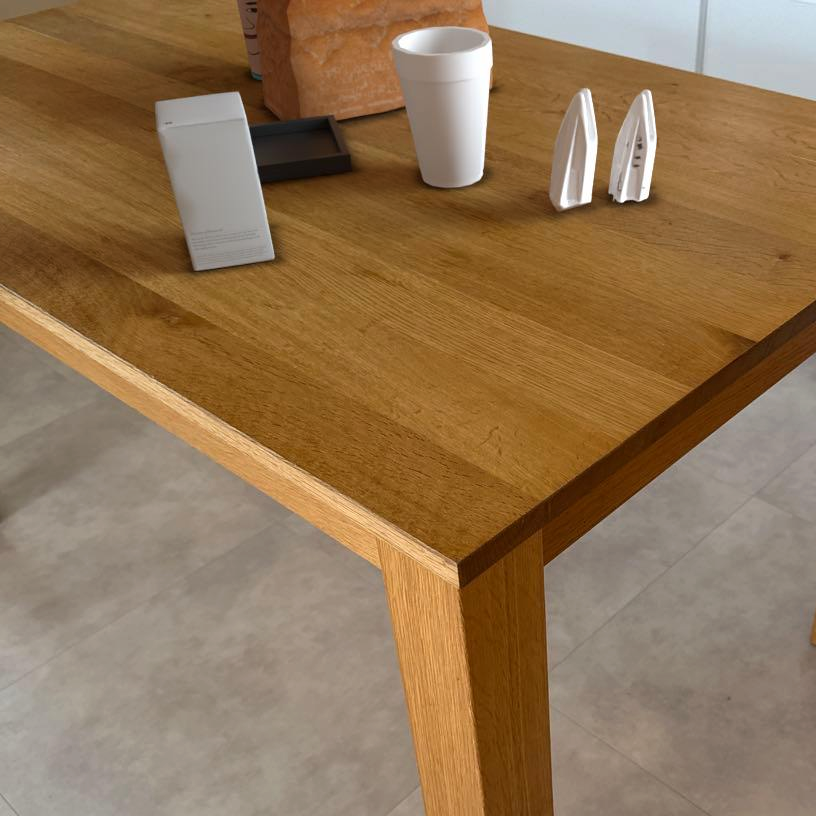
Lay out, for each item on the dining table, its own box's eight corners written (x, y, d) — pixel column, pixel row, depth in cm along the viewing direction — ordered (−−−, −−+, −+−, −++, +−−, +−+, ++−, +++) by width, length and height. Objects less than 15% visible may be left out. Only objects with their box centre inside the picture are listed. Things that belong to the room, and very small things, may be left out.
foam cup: (422, 155, 109) (409, 24, 100) (506, 160, 107) (500, 28, 98) (395, 191, 102) (379, 53, 93) (484, 196, 100) (476, 57, 91)
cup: (252, 67, 133) (226, -63, 123) (303, 62, 134) (281, -67, 124) (251, 83, 128) (224, -51, 118) (305, 78, 129) (282, -55, 119)
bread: (257, 101, 123) (229, -38, 113) (454, 63, 132) (444, -69, 122) (295, 136, 114) (268, -12, 104) (504, 92, 123) (498, -48, 113)
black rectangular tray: (230, 187, 103) (226, 170, 102) (223, 144, 112) (219, 128, 111) (352, 171, 106) (350, 154, 105) (336, 130, 115) (333, 114, 114)
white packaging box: (277, 260, 91) (246, 117, 82) (192, 273, 89) (152, 128, 81) (269, 227, 96) (240, 88, 88) (189, 238, 95) (152, 99, 86)
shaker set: (556, 226, 95) (555, 105, 87) (535, 210, 97) (532, 91, 90) (663, 198, 99) (670, 80, 91) (639, 184, 101) (644, 68, 94)
